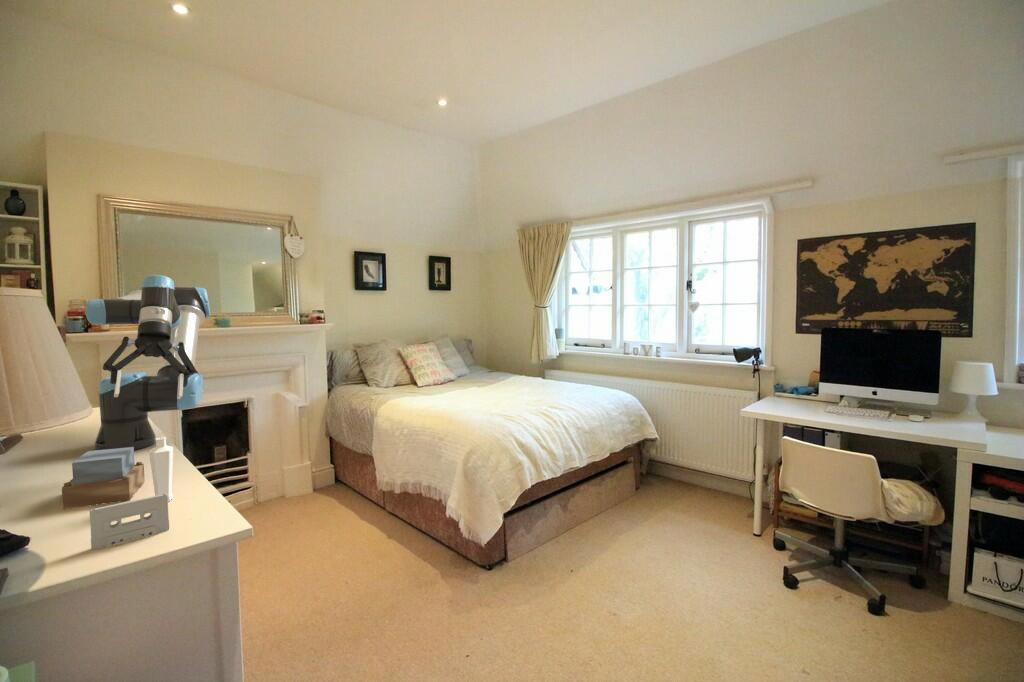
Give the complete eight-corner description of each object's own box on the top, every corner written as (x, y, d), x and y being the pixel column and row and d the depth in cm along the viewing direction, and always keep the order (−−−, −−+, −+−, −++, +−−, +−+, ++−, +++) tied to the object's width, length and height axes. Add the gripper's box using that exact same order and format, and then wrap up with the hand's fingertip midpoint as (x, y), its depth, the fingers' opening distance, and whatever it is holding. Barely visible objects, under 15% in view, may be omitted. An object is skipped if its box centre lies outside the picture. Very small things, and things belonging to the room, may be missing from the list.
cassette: (168, 528, 98) (167, 492, 97) (169, 531, 96) (168, 495, 96) (91, 547, 90) (89, 508, 89) (91, 551, 88) (89, 512, 88)
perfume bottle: (155, 497, 112) (152, 436, 111) (176, 495, 114) (174, 434, 112) (147, 505, 108) (144, 441, 106) (170, 503, 109) (167, 440, 108)
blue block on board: (84, 489, 116) (82, 450, 115) (144, 482, 121) (142, 444, 120) (63, 509, 105) (60, 465, 105) (129, 500, 110) (127, 458, 110)
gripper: (98, 312, 123) (88, 389, 115) (209, 326, 140) (206, 393, 132) (95, 325, 127) (85, 399, 120) (202, 336, 145) (200, 402, 137)
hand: (149, 396), depth 126 cm, fingers open, 13 cm apart
